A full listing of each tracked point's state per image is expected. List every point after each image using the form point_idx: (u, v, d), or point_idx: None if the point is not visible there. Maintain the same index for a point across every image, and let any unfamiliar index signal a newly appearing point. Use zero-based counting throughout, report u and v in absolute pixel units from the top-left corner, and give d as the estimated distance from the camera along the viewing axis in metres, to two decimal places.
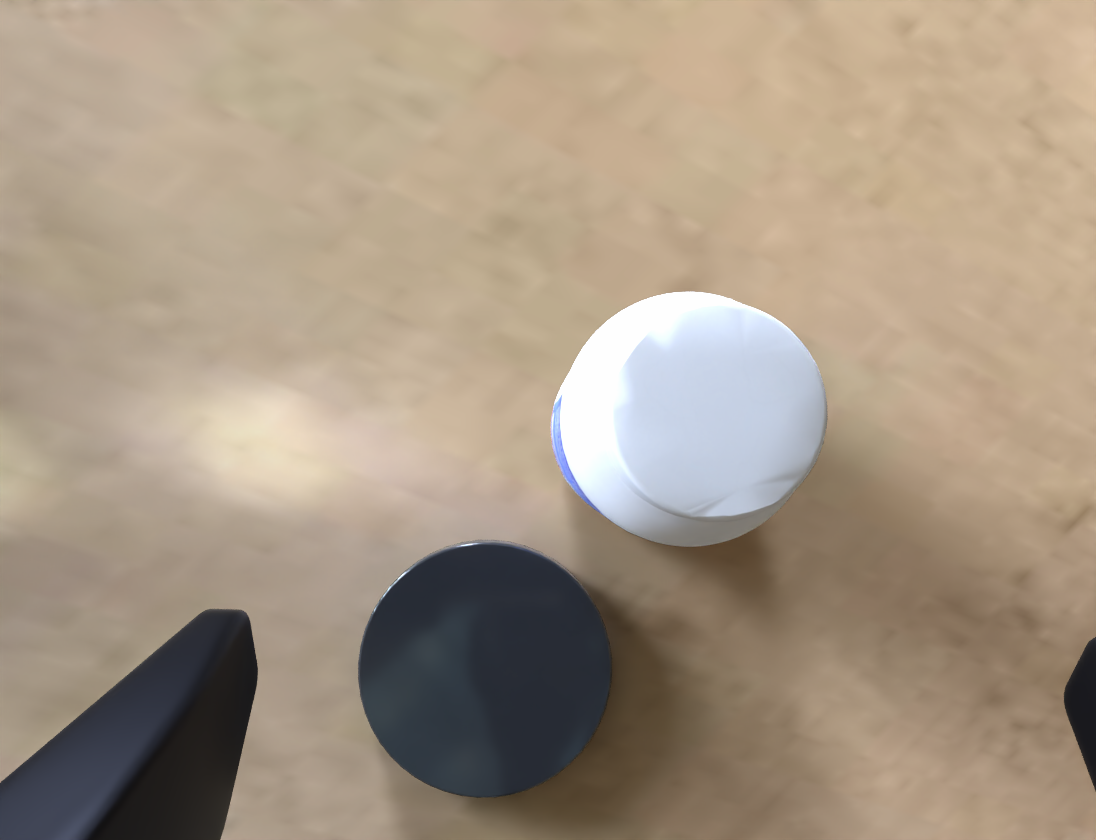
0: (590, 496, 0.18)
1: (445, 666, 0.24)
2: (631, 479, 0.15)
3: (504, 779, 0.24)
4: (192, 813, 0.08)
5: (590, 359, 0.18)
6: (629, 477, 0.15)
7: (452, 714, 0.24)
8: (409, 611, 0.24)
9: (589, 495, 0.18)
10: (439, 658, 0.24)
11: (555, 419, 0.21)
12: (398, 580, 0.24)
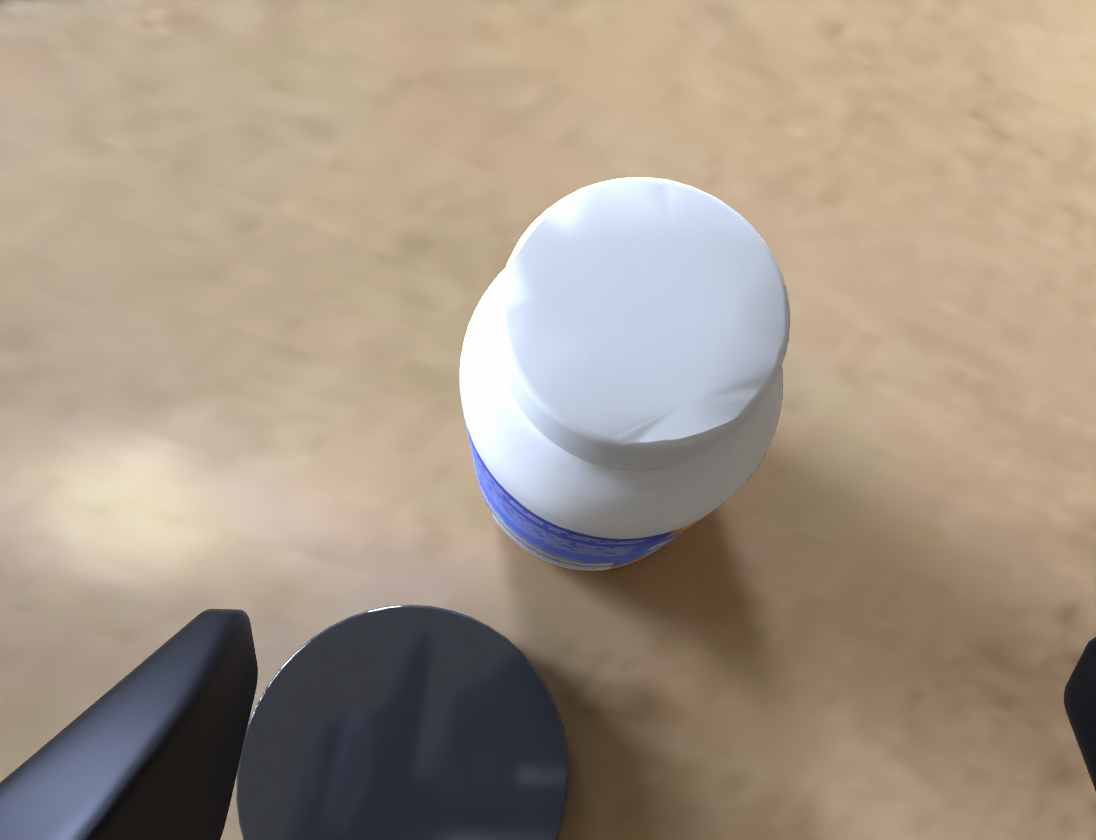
0: (501, 474, 0.14)
1: (350, 772, 0.18)
2: (536, 401, 0.11)
3: None
4: (192, 813, 0.08)
5: (490, 300, 0.14)
6: (533, 399, 0.11)
7: (361, 839, 0.18)
8: (303, 701, 0.19)
9: (499, 473, 0.14)
10: (343, 762, 0.18)
11: None
12: (289, 661, 0.19)
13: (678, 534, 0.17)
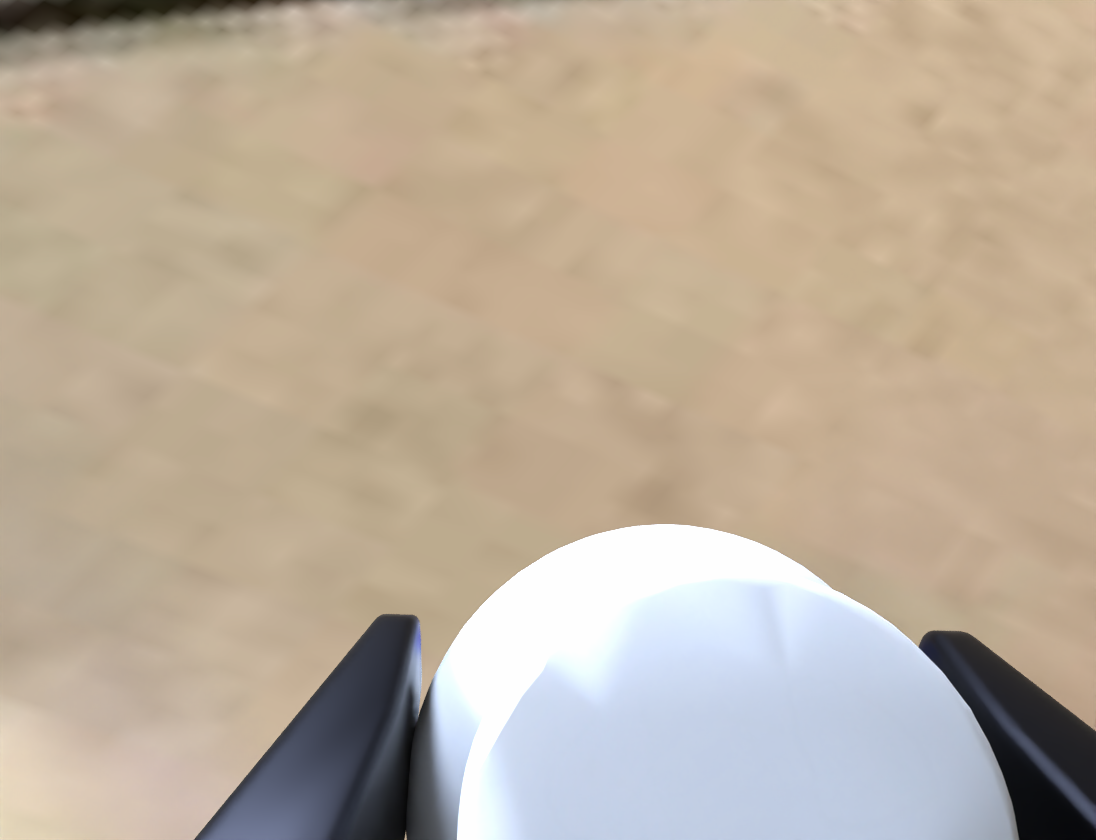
0: None
1: None
2: None
3: None
4: (392, 818, 0.08)
5: (455, 685, 0.08)
6: None
7: None
8: None
9: None
10: None
11: None
12: None
13: None
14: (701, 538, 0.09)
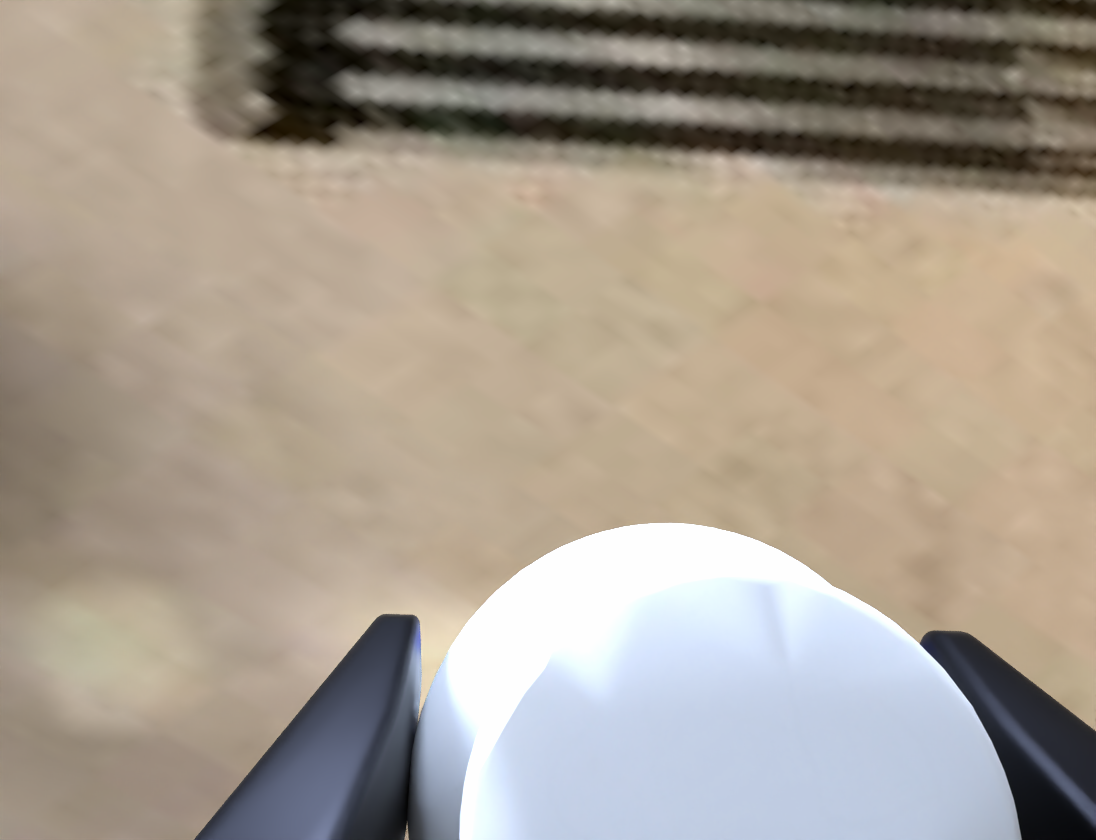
0: None
1: None
2: None
3: None
4: (392, 817, 0.08)
5: (457, 683, 0.08)
6: None
7: None
8: None
9: None
10: None
11: None
12: None
13: None
14: (703, 537, 0.09)
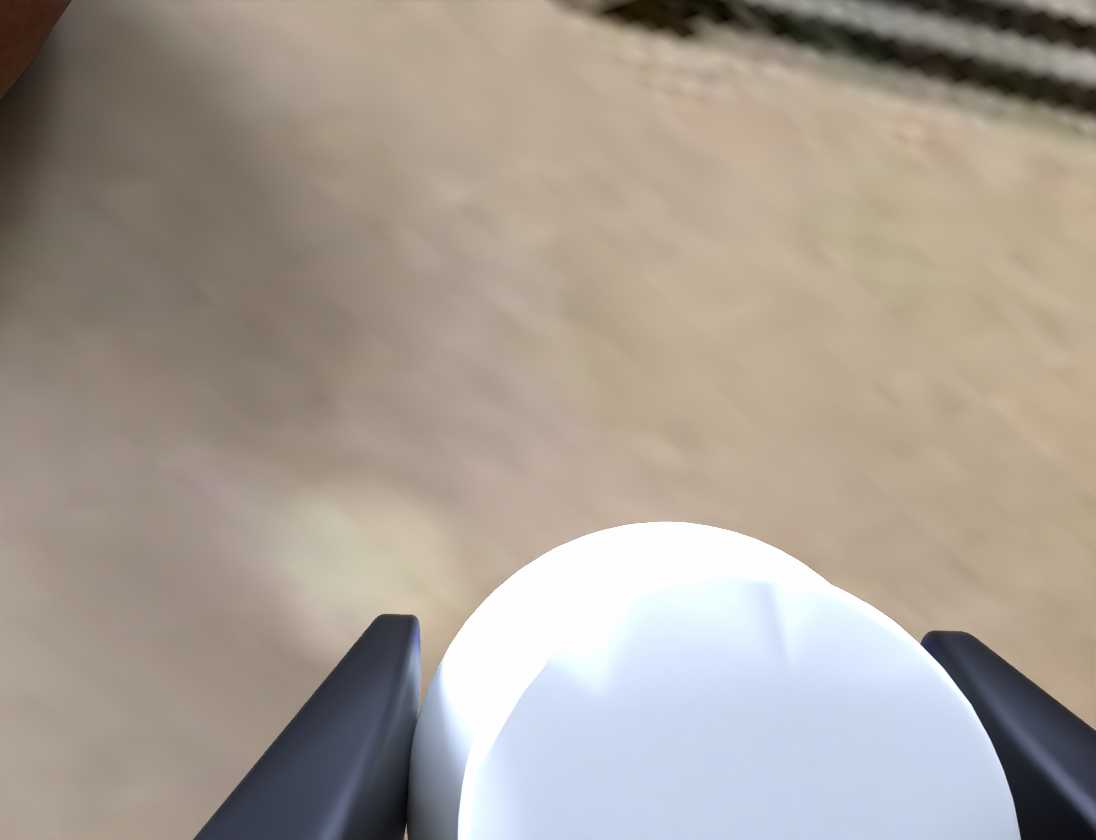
0: None
1: None
2: None
3: None
4: (391, 817, 0.08)
5: (456, 683, 0.08)
6: None
7: None
8: None
9: None
10: None
11: None
12: None
13: None
14: (702, 536, 0.09)
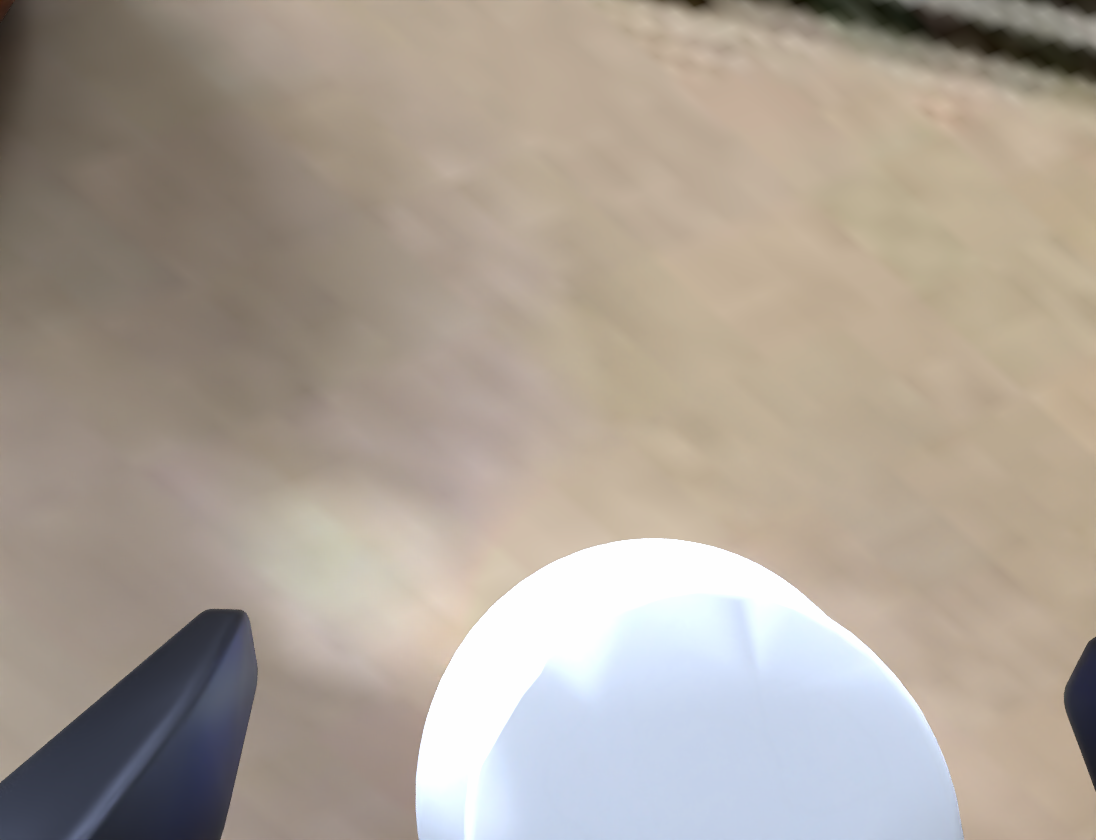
0: None
1: None
2: None
3: None
4: (192, 813, 0.08)
5: (460, 687, 0.09)
6: None
7: None
8: None
9: None
10: None
11: None
12: None
13: None
14: (687, 552, 0.10)
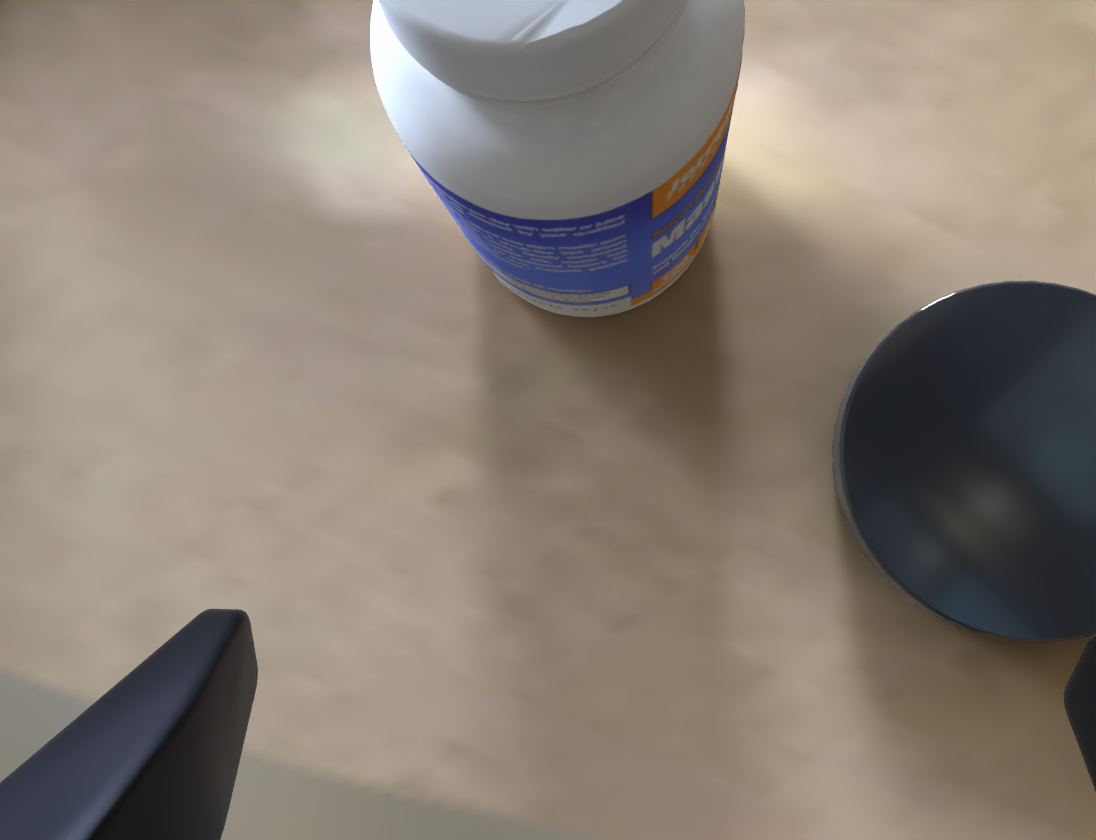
0: (440, 170, 0.12)
1: (967, 443, 0.17)
2: (416, 27, 0.10)
3: (1041, 617, 0.16)
4: (192, 813, 0.08)
5: None
6: (413, 26, 0.10)
7: (971, 512, 0.17)
8: (923, 361, 0.17)
9: (438, 169, 0.12)
10: (960, 431, 0.17)
11: None
12: (912, 317, 0.17)
13: (679, 224, 0.15)
14: None
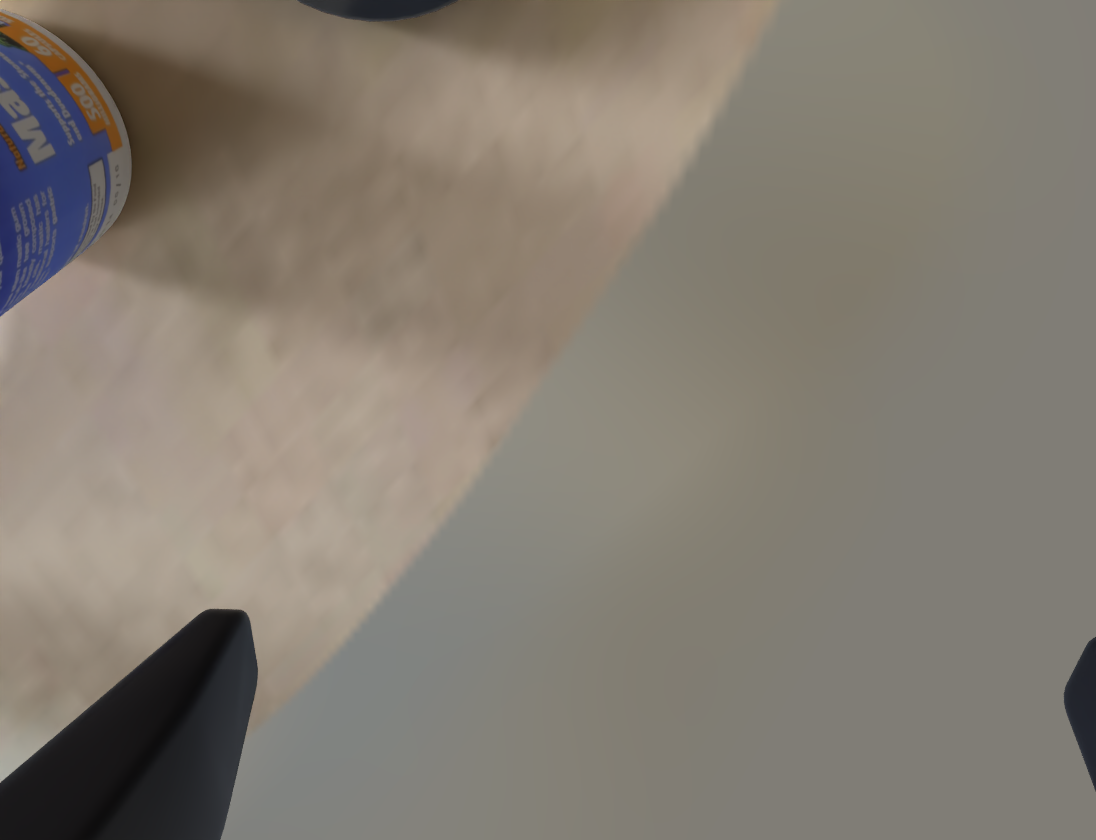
0: None
1: None
2: None
3: None
4: (192, 813, 0.08)
5: None
6: None
7: None
8: None
9: None
10: None
11: None
12: None
13: (18, 129, 0.15)
14: None
